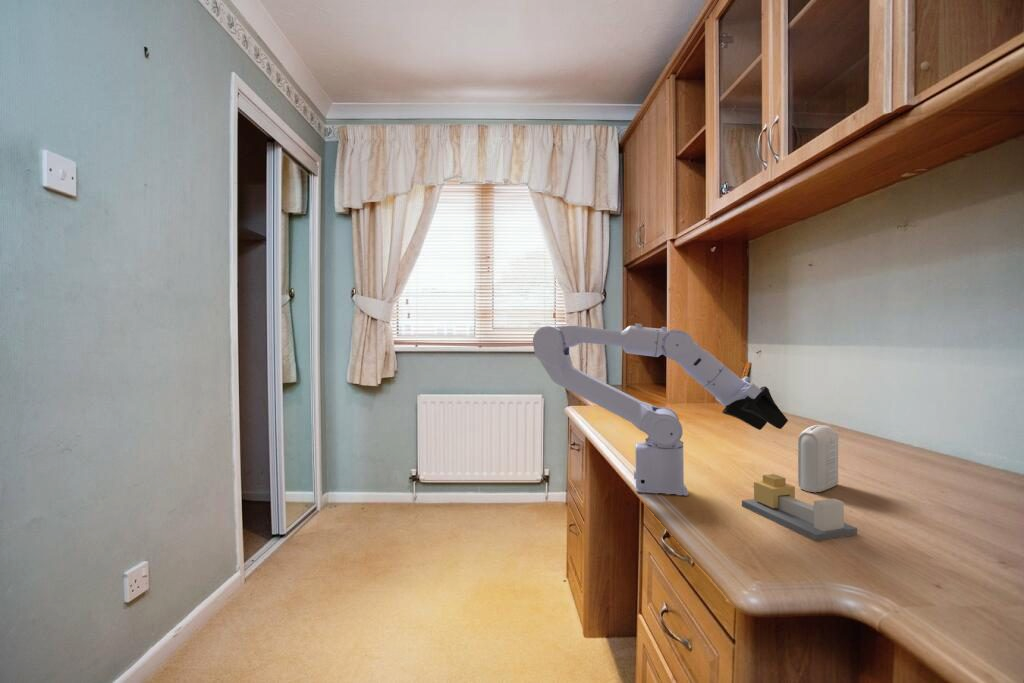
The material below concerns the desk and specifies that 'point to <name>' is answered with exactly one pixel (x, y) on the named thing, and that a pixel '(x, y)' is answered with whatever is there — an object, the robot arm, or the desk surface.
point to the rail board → (797, 522)
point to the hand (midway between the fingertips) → (773, 425)
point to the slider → (772, 490)
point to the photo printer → (818, 458)
